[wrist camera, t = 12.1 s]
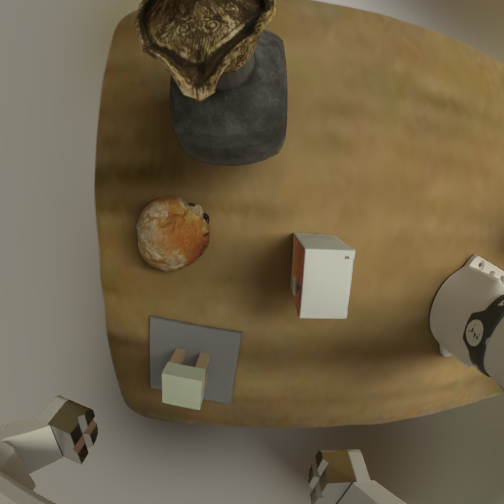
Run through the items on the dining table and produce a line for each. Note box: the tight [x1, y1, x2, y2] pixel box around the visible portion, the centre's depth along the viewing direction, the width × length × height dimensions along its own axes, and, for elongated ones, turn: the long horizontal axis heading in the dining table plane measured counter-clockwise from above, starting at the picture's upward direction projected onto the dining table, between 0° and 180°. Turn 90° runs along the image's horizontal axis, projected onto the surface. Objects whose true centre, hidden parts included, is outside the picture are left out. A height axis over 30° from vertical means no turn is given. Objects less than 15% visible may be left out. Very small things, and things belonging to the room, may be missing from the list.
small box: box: [290, 233, 355, 319], centre depth 36 cm, size 8×6×10 cm
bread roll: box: [136, 196, 210, 271], centre depth 38 cm, size 10×10×8 cm
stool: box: [162, 348, 209, 410], centre depth 40 cm, size 6×6×8 cm
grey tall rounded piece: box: [134, 0, 287, 166], centre depth 22 cm, size 11×19×30 cm, turn 1°
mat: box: [150, 316, 242, 404], centre depth 44 cm, size 14×14×1 cm
